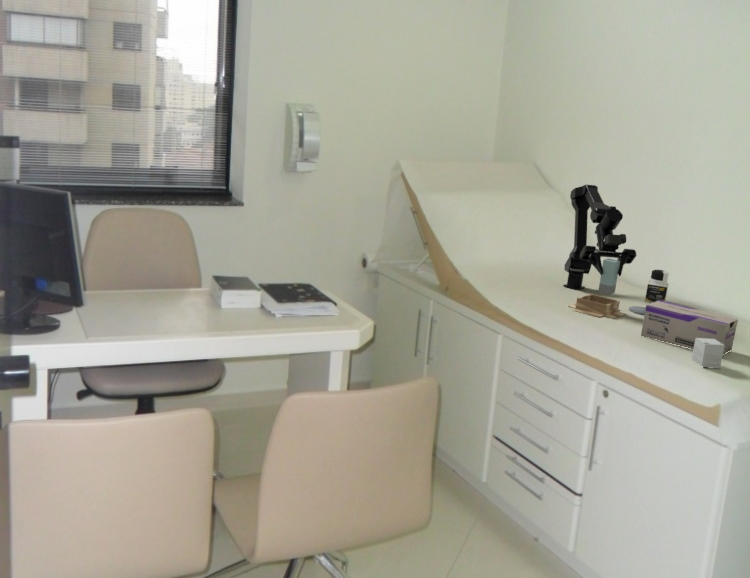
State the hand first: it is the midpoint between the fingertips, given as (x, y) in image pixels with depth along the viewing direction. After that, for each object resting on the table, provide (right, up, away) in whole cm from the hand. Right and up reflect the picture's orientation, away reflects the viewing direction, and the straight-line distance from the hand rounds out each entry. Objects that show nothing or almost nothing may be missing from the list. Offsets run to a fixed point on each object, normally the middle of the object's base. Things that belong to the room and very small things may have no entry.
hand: (610, 275), depth 287 cm
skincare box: (+14, -27, -47) cm, 56 cm away
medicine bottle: (+25, -10, +28) cm, 38 cm away
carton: (-4, -12, +5) cm, 14 cm away
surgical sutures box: (+16, -23, -26) cm, 38 cm away
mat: (+14, -13, +9) cm, 21 cm away
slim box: (-1, -6, +3) cm, 7 cm away
